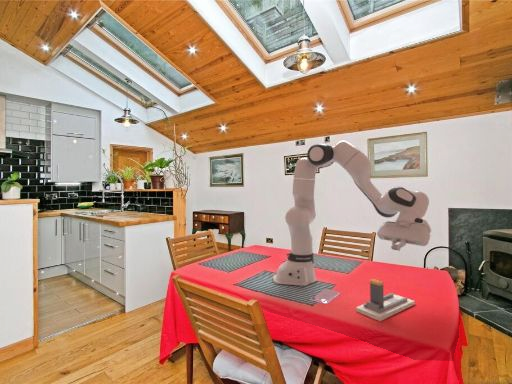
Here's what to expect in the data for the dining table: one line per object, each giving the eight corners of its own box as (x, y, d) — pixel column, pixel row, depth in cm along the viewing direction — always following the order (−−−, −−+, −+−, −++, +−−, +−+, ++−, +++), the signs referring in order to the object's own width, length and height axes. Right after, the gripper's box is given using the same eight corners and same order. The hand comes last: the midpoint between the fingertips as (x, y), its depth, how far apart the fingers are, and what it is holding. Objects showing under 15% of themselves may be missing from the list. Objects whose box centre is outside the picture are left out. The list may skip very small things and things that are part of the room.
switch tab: (374, 304, 109) (373, 278, 109) (384, 307, 105) (383, 281, 105) (370, 305, 107) (369, 280, 107) (380, 309, 104) (379, 283, 104)
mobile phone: (340, 291, 126) (326, 302, 114) (340, 293, 126) (326, 305, 114) (324, 288, 131) (309, 298, 119) (324, 290, 131) (309, 300, 119)
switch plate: (391, 296, 120) (390, 287, 120) (414, 304, 112) (414, 294, 112) (356, 311, 107) (355, 301, 107) (379, 321, 99) (379, 310, 99)
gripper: (381, 216, 126) (369, 240, 120) (430, 220, 109) (417, 249, 103) (387, 225, 128) (375, 249, 123) (435, 231, 111) (423, 258, 106)
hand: (395, 249), depth 113 cm, fingers closed
